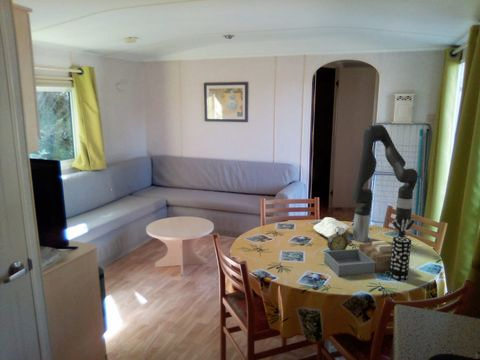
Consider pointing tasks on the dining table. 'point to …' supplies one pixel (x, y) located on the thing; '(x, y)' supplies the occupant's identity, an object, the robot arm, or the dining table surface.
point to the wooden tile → (381, 246)
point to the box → (349, 262)
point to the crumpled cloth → (330, 227)
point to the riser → (377, 257)
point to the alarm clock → (337, 242)
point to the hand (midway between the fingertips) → (401, 237)
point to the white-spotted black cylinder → (400, 258)
